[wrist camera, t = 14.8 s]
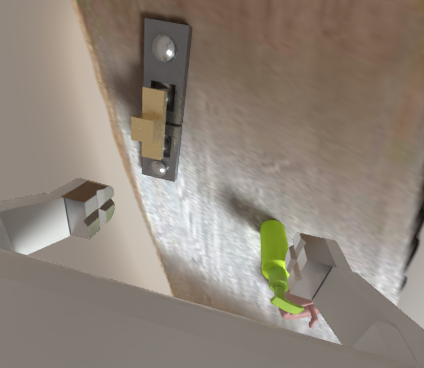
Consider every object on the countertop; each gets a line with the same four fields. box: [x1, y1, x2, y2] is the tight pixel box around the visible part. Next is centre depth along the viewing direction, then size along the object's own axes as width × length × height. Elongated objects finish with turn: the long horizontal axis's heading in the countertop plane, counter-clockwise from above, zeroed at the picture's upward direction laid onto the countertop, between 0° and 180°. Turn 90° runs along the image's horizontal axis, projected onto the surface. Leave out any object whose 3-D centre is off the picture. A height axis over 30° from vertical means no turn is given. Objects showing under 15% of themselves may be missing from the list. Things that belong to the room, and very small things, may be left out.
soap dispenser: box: [260, 220, 304, 314], centre depth 44 cm, size 6×7×20 cm
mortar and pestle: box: [278, 288, 320, 328], centre depth 54 cm, size 12×12×12 cm
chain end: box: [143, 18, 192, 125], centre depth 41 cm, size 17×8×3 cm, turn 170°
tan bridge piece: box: [131, 87, 173, 160], centre depth 41 cm, size 13×4×10 cm, turn 170°
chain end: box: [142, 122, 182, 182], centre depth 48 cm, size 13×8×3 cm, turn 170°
